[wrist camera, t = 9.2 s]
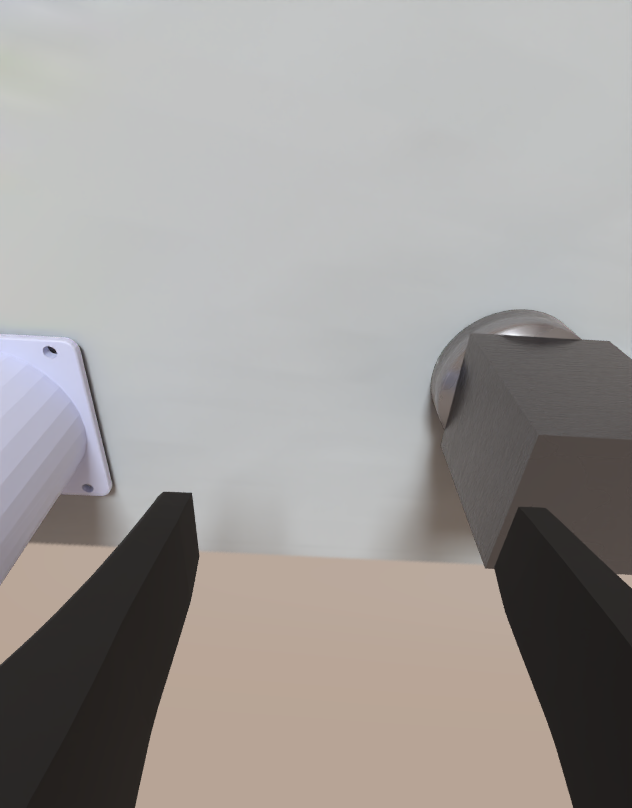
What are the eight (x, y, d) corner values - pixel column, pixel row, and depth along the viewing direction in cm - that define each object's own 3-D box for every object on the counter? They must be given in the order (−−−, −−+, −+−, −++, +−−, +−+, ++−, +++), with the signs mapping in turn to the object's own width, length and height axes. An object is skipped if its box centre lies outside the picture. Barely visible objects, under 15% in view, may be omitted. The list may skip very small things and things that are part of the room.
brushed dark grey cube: (440, 445, 19) (485, 568, 14) (470, 332, 16) (538, 434, 11) (560, 451, 19) (647, 575, 14) (609, 341, 17) (737, 445, 12)
